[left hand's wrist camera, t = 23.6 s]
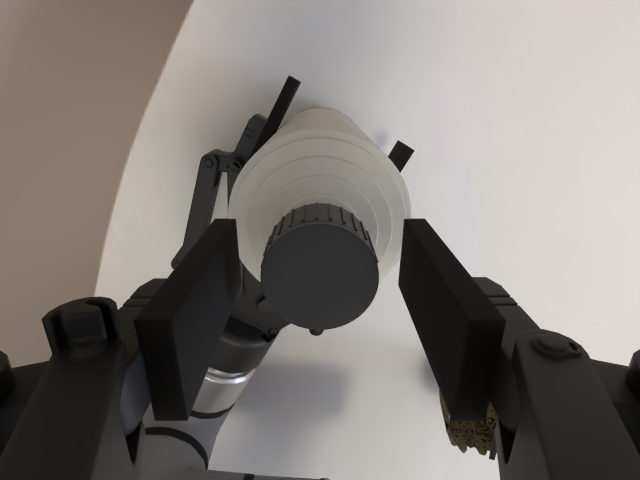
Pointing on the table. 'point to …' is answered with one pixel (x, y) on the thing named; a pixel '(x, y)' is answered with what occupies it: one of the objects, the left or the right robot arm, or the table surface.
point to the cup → (470, 430)
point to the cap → (319, 267)
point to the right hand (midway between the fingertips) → (352, 113)
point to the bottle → (319, 185)
